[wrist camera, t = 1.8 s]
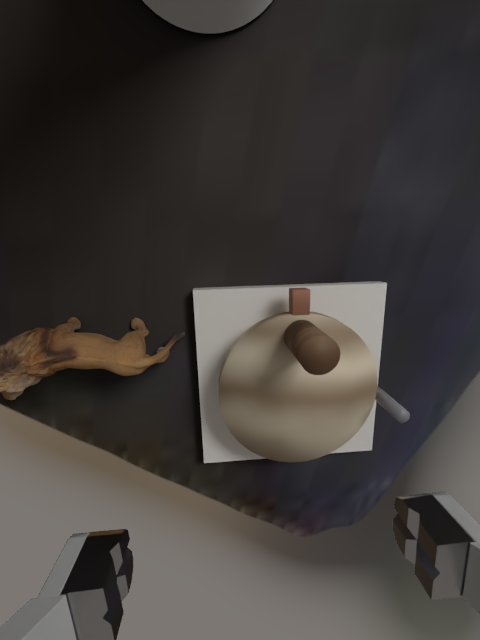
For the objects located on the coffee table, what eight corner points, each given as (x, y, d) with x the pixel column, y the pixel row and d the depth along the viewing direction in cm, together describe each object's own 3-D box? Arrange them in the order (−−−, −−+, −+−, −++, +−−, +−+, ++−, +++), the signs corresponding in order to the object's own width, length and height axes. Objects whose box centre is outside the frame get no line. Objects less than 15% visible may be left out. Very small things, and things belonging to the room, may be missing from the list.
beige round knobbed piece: (213, 290, 26) (213, 304, 20) (377, 284, 27) (426, 295, 21) (221, 457, 30) (223, 512, 24) (363, 446, 31) (401, 496, 25)
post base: (193, 288, 29) (186, 301, 22) (378, 281, 30) (429, 291, 23) (204, 453, 33) (201, 510, 26) (365, 441, 35) (404, 492, 28)
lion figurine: (43, 369, 30) (-29, 418, 21) (30, 318, 29) (-52, 348, 20) (188, 355, 31) (177, 397, 22) (182, 305, 29) (167, 328, 21)
